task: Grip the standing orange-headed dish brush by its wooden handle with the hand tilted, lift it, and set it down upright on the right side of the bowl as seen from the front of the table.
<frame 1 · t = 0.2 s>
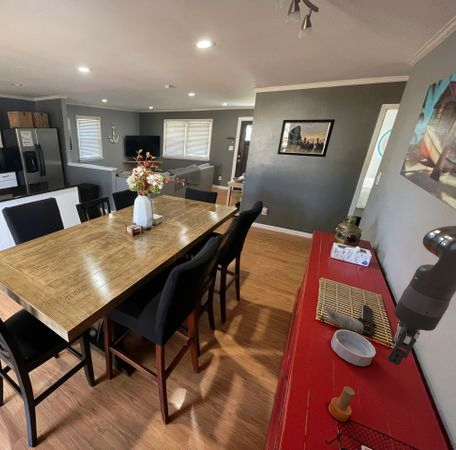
hand: (394, 352, 65), 29 cm above the sideboard, tool pointing down, fingers open, 8 cm apart
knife: (365, 319, 116), on the sideboard
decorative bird: (339, 326, 111), on the sideboard
bowl: (349, 352, 98), on the sideboard
brush: (337, 412, 77), on the sideboard
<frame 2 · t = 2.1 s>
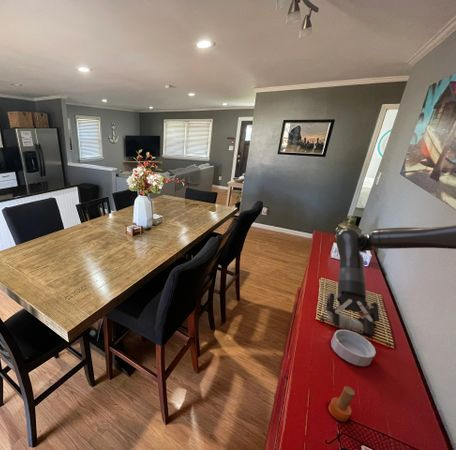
hand: (351, 329, 80), 23 cm above the sideboard, tool tilted 45°, fingers open, 8 cm apart
nothing on the sideboard moved.
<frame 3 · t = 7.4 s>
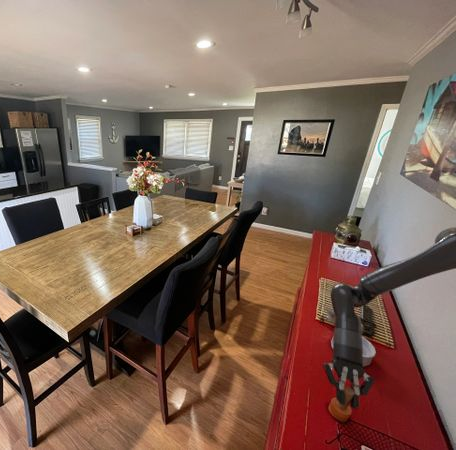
hand: (347, 405, 73), 7 cm above the sideboard, tool tilted 45°, fingers closed on brush, 2 cm apart
brush: (338, 412, 77), on the sideboard, touching gripper
everything else where it was.
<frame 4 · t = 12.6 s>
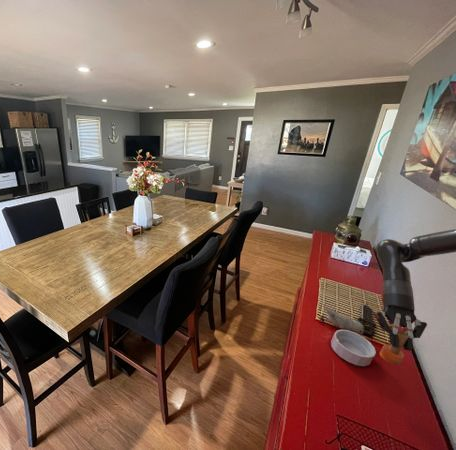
hand: (401, 348, 77), 20 cm above the sideboard, tool tilted 45°, fingers closed on brush, 2 cm apart
brush: (389, 358, 82), point 13 cm above the sideboard, touching gripper
everything else where it was.
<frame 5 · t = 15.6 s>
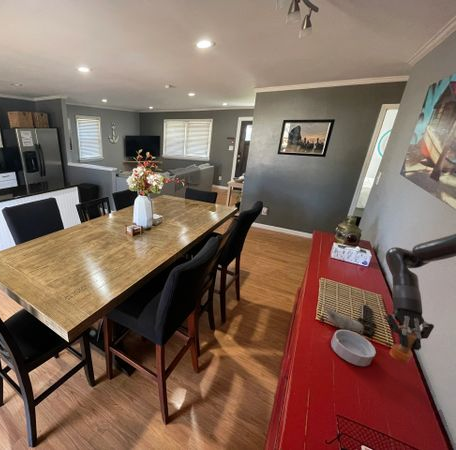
hand: (410, 348, 84), 14 cm above the sideboard, tool tilted 45°, fingers closed on brush, 2 cm apart
brush: (398, 356, 89), point 7 cm above the sideboard, touching gripper
everything else where it was.
when the fingers open (7 cm above the sideboard, at t = 17.9 s): brush stays where it is, on the sideboard.
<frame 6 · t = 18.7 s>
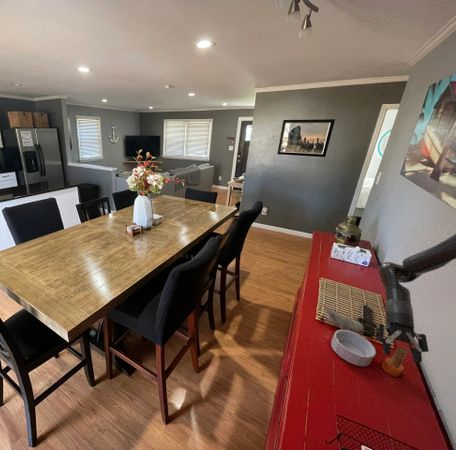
hand: (402, 358, 87), 8 cm above the sideboard, tool tilted 45°, fingers open, 8 cm apart
brush: (390, 370, 92), on the sideboard
everything else where it was.
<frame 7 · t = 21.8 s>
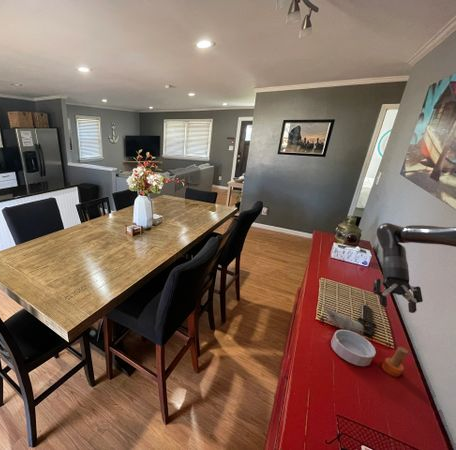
hand: (398, 309, 92), 21 cm above the sideboard, tool tilted 45°, fingers open, 8 cm apart
nothing on the sideboard moved.
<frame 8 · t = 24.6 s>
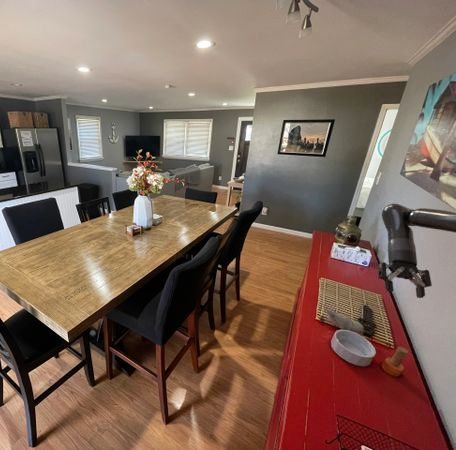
hand: (405, 294, 86), 31 cm above the sideboard, tool tilted 45°, fingers open, 8 cm apart
nothing on the sideboard moved.
at the end: brush inside the target area on the sideboard beside the bowl (0.1 cm from its centre), on the sideboard; brush tilted 0°; the gripper is holding nothing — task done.
